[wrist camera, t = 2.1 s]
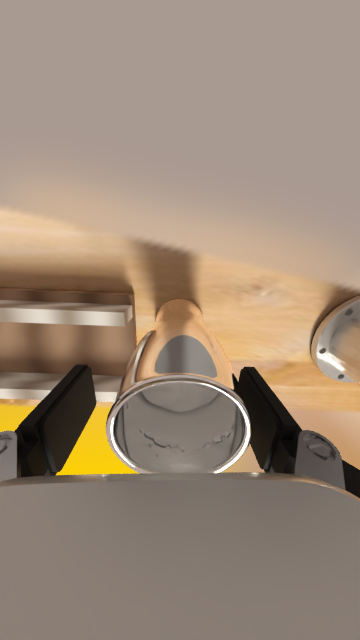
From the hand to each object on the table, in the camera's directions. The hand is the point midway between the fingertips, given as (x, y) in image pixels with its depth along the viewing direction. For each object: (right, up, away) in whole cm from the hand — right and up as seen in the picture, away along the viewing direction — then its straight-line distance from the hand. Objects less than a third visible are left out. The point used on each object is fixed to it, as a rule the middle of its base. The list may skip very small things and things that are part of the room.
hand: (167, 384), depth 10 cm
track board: (-17, +1, +12) cm, 21 cm away
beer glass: (+1, +4, +11) cm, 12 cm away
